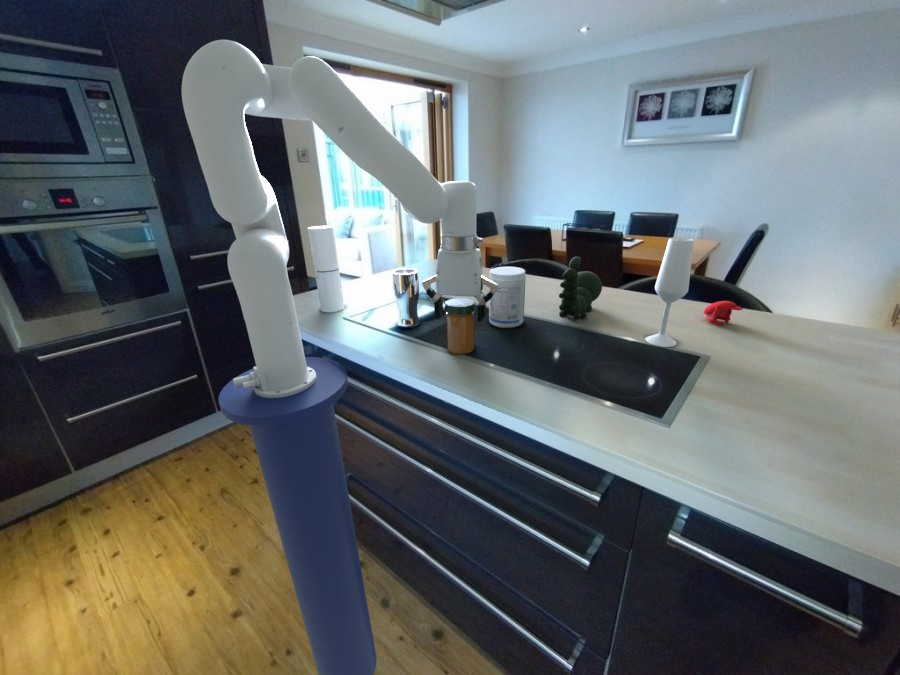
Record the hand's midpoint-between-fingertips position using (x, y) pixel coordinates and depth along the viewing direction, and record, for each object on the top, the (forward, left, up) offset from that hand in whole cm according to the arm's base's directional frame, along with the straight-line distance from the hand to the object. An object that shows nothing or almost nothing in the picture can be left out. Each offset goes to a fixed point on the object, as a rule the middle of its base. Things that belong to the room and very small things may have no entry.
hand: (459, 318), depth 89 cm
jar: (0, 0, -8) cm, 8 cm away
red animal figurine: (+62, -32, -8) cm, 70 cm away
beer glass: (-1, +22, -8) cm, 23 cm away
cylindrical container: (-12, +50, -8) cm, 52 cm away
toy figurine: (+41, -3, -8) cm, 42 cm away
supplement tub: (+20, +5, -8) cm, 22 cm away
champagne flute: (+39, -28, -8) cm, 49 cm away
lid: (0, 0, +3) cm, 4 cm away
